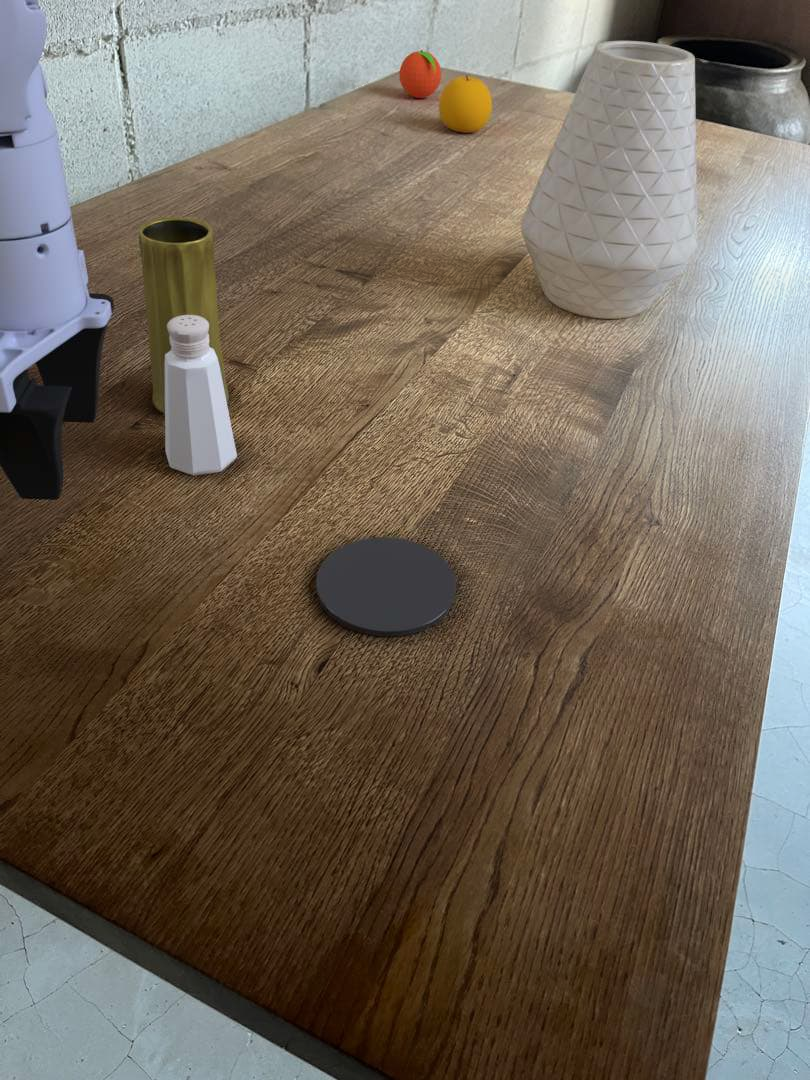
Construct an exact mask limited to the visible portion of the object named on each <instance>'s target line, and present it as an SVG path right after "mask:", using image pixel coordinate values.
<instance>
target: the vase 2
mask: <svg viewBox="0 0 810 1080" xmlns="http://www.w3.org/2000/svg"><path fill="white" fill-rule="evenodd" d="M696 108H697V106H696V58H695V55H694V54H693V53H692V52H689V50H685V49H682V48H680V47H676V46H671V45H667V44H664V43H663V44H662V43H656V42H649V41H639V40H609V41H603V42H600V43H598V44H596V45H595V46H594V49H593V51H592V54H591V56H590V58H589V61H588V63H587V65H586V68H585V70H584V73H583V75H582V77H581V79H580V82H579V84H578V86H577V89H576V91H575V94H574V96H573V98H572V100H571V103H570V105H569V107H568V110H567V112H566V114H565V118H563V119H564V120H563V122H562V124H561V126H560V128H559V131H558V133H557V136H556V138H555V140H554V143H553V146H552V148H551V150H550V152H549V155H548V157H547V159H546V162H545V164H544V167H543V168H542V171H541V174H540V176H539V178H538V181H537V183H536V185H535V187H534V190H533V192H532V194H531V197H530V199H529V202H528V204H527V207H526V209H525V210H524V213H523V216H522V218H521V222H520V229H521V230H520V231H521V236H522V238H523V240H524V243H525V246H526V249H527V251H528V254H529V257H530V259H531V263H532V265H533V268H534V271H535V273H536V275H537V278H538V281H539V283H540V286H541V289H542V292H543V294H544V296H545V298H546V299H547V300H548V301H549V302H550V303H552V304H553V305H555V306H556V307H558V308H560V309H561V310H564V311H566V312H569V313H572V314H574V315H577V316H582V317H586V318H590V319H591V318H592V319H601V320H621V319H627V318H628V319H629V318H633V317H634V316H637V315H640V314H642V313H644V311H646V310H647V309H648V308H649V307H650V306H651V304H652V303H654V301H655V300H656V299H657V298H658V297H659V296H660V295H661V294H662V292H664V290H665V289H667V288H668V286H669V285H670V284H671V283H672V281H674V280H675V279H676V277H677V276H678V275H679V274H680V273H681V272H682V271H683V269H684V268H685V267H686V266H687V265H688V264H689V263H690V262H691V261H692V259H693V258H694V257H695V255H696V252H697V250H698V245H699V243H698V242H699V241H698V240H699V237H698V236H699V235H698V232H699V231H698V230H699V229H698V176H697V175H698V172H697V171H698V169H697V116H696V115H697V114H696V111H697V110H696Z"/></svg>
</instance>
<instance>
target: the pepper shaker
mask: <svg viewBox="0 0 810 1080" xmlns="http://www.w3.org/2000/svg"><path fill="white" fill-rule="evenodd" d="M167 329H168V332H169V334H170V337H169V338H170V344H171V346H172V347H171V351H169V352H168V353H166V354H165V414H164V436H165V437H164V439H165V440H164V441H165V442H164V445H165V448H164V450H165V454H166V457H167V463H168V465H169V468H170V469H172V470H176V471H178V472H181V473H184V474H187V475H190V476H193V477H195V476H202V475H209V474H215V473H222V471H223V470H225V469H226V468H227V467H228V466H230V464H231V463H233V462H234V461H235V460H236V459H237V458H238V453H237V448H236V444H235V439H234V433H233V429H232V423H231V418H230V412H229V408H228V402H226V396H225V391H224V386H223V381H222V376H221V371H220V366H219V362H218V358H217V356H216V353H215V351H214V349H213V348H210V346H209V334H208V331H209V323H208V321H207V320H206V319H205V318H203V317H200V316H197V315H182V316H177V317H175V318H173V319H171V320H170V321H169V322H168V324H167Z"/></svg>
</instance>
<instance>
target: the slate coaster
mask: <svg viewBox="0 0 810 1080" xmlns="http://www.w3.org/2000/svg"><path fill="white" fill-rule="evenodd" d="M315 590H316V596H317V599H318V601H319V604H320V605H321V607H322V608H323V610H324V611H325V612H326V613H327V614H328V616H330V617H331V618H332V619H333V620H334V621H336V622H337V623H339V624H340V625H341V626H343V627H346V628H347V629H349V630H352V631H355V632H358V633H361V634H365V635H369V636H375V637H385V638H386V637H387V638H388V637H389V638H390V637H391V638H393V637H402V636H410V635H413V634H418V633H420V632H423V631H425V630H427V629H429V628H432V627H433V626H435V625H436V624H438V623H439V622H440V621H442V620H443V619H444V618H445V617H446V616H447V615H448V613H450V610H451V609H452V607H453V605H454V603H455V599H456V594H457V580H456V577H455V575H454V572H453V570H452V568H451V567H450V565H449V563H448V562H447V561H446V560H445V559H443V558H442V556H440V555H439V554H438V553H437V552H435V551H434V550H432V549H431V548H428V547H427V546H426V545H423V544H421V543H417V542H414V541H411V540H407V539H404V538H398V537H388V536H385V537H383V536H382V537H368V538H362V539H359V540H355V541H351V542H349V543H347V544H344V545H342V546H340V547H338V548H337V549H335V550H333V551H332V553H330V554H329V555H328V556H327V557H326V558H325V559H324V561H322V563H321V564H320V567H319V568H318V571H317V574H316V579H315Z"/></svg>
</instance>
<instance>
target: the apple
mask: <svg viewBox="0 0 810 1080" xmlns="http://www.w3.org/2000/svg"><path fill="white" fill-rule="evenodd" d="M491 95H492V94H491V92H490V90H489V88H488V86H487V85H486V84H485V83H484V81H482V80H481V79H479V78H477V77H473V76H468V75H465V76H457V77H455V78H453V79H452V80H450V81H449V82H447V84H446V85H445V87H444V88H443V90H442V91H441V94H440V97H439V103H438V112H439V117H440V119H441V121H442V123H443V124H444V126H446V128H448V129H449V130H451V131H454V132H457V133H467V134H469V133H475V132H478V131H479V130H482V129H483V128H484V127H485V126H486V125H487V123H488V122H489V119H490V117H491V114H492V111H493V110H492V109H493V104H492V103H493V101H492V96H491Z"/></svg>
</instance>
